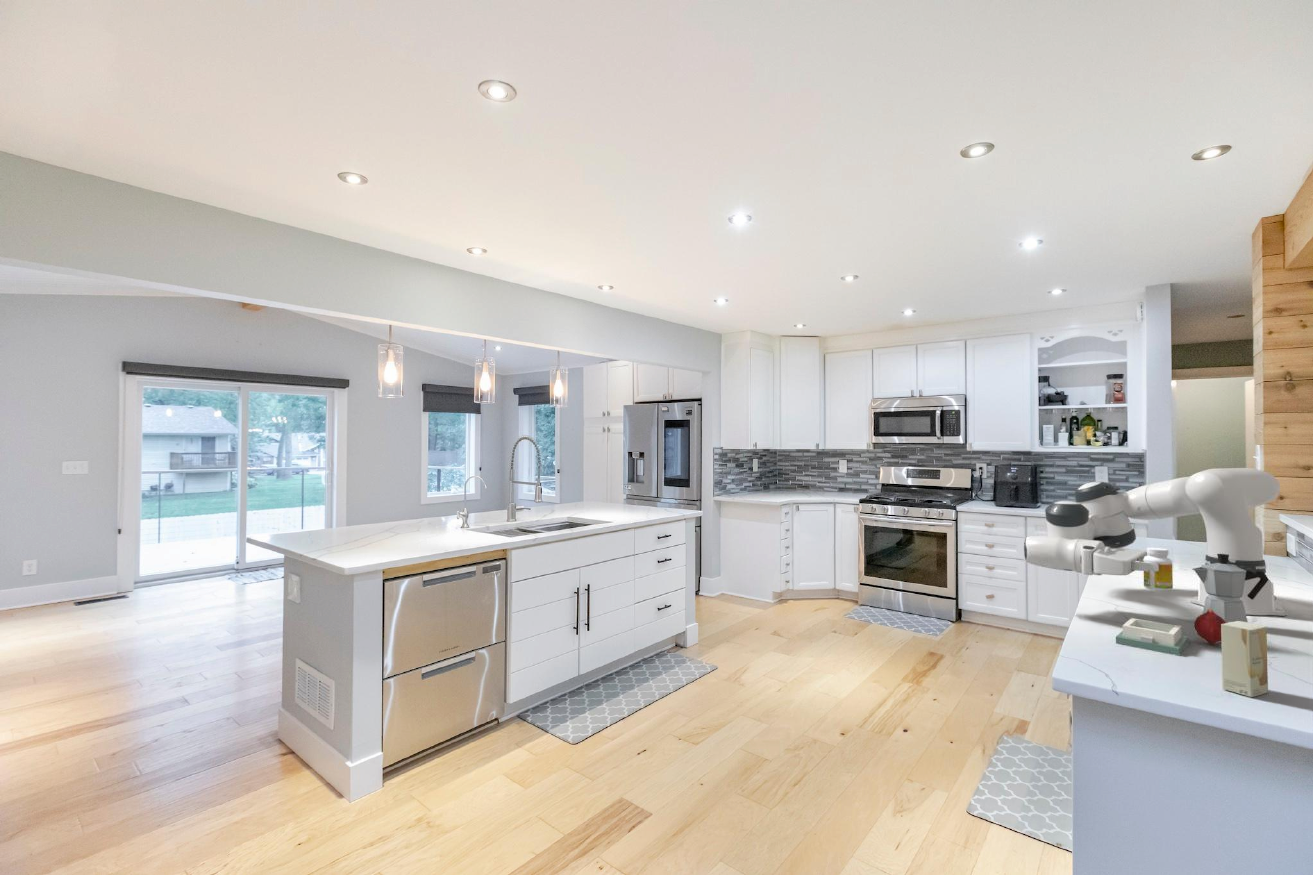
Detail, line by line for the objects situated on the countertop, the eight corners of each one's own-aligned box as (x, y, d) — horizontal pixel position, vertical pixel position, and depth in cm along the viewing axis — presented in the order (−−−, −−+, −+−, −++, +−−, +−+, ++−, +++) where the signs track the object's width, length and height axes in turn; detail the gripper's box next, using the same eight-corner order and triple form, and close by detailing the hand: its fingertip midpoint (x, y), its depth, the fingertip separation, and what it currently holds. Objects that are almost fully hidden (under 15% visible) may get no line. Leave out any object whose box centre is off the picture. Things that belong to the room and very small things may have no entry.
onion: (1236, 649, 131) (1235, 613, 132) (1206, 647, 133) (1205, 611, 133) (1217, 640, 137) (1216, 606, 137) (1188, 639, 138) (1187, 605, 138)
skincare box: (1252, 698, 106) (1250, 630, 106) (1221, 689, 110) (1219, 623, 110) (1270, 692, 108) (1268, 625, 109) (1239, 683, 112) (1237, 619, 113)
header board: (1128, 632, 144) (1128, 615, 144) (1188, 643, 135) (1188, 625, 135) (1115, 643, 136) (1115, 625, 136) (1178, 655, 128) (1178, 637, 128)
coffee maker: (1201, 627, 147) (1199, 555, 147) (1185, 618, 155) (1183, 549, 155) (1280, 634, 141) (1278, 559, 142) (1258, 623, 149) (1256, 552, 150)
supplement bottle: (1177, 589, 142) (1176, 549, 142) (1165, 592, 140) (1164, 551, 140) (1151, 585, 147) (1150, 546, 147) (1139, 587, 144) (1138, 547, 145)
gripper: (1105, 563, 160) (1172, 572, 149) (1081, 575, 147) (1152, 585, 136) (1104, 540, 160) (1171, 547, 149) (1081, 550, 147) (1152, 558, 136)
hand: (1162, 565), depth 143 cm, fingers closed on supplement bottle, 5 cm apart
